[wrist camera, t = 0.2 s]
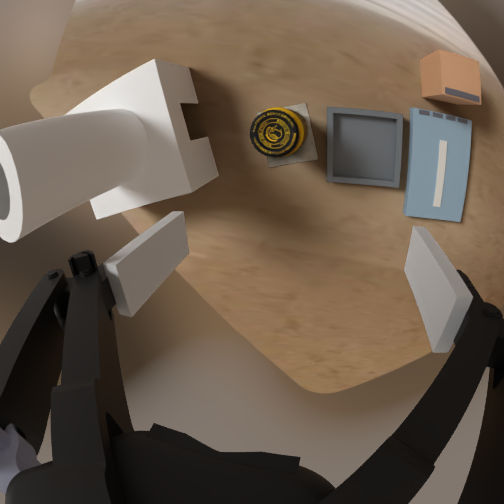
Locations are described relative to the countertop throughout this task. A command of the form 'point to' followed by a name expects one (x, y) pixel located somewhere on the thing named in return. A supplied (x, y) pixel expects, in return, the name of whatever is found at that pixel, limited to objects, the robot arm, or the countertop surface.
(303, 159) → the condiment
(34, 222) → the paper towel holder
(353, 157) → the tray
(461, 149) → the board
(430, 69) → the stub
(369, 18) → the countertop surface
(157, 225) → the robot arm
